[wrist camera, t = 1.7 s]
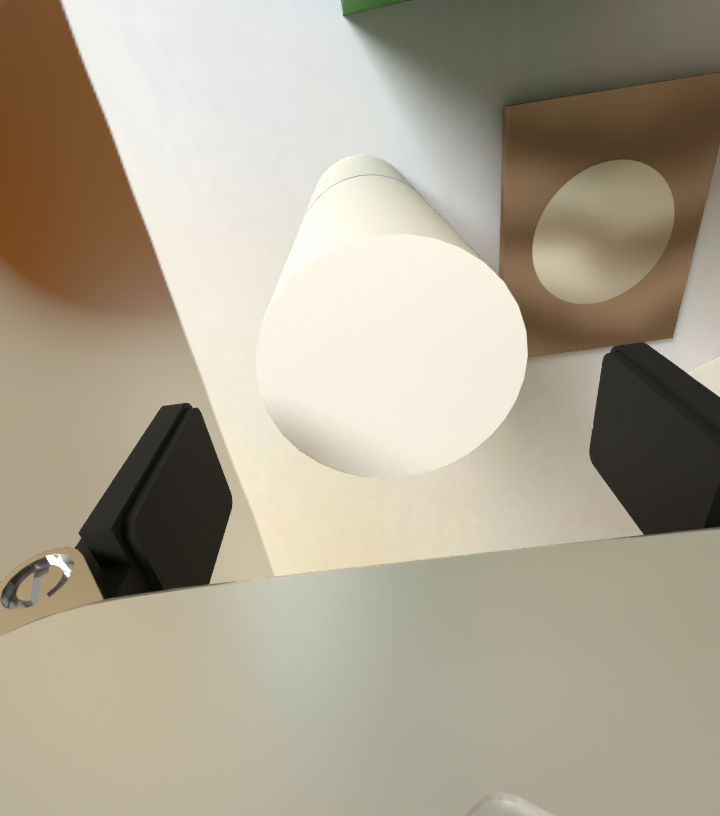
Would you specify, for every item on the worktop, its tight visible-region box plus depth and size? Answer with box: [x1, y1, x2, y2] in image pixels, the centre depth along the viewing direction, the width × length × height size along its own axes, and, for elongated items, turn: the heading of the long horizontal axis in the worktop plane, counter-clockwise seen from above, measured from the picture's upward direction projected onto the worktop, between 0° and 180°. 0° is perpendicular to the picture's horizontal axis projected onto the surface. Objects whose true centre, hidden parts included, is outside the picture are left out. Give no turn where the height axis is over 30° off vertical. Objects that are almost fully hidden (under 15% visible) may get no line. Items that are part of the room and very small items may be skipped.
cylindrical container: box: [255, 155, 528, 478], centre depth 23 cm, size 7×7×25 cm
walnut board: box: [499, 72, 720, 357], centre depth 34 cm, size 18×14×1 cm
